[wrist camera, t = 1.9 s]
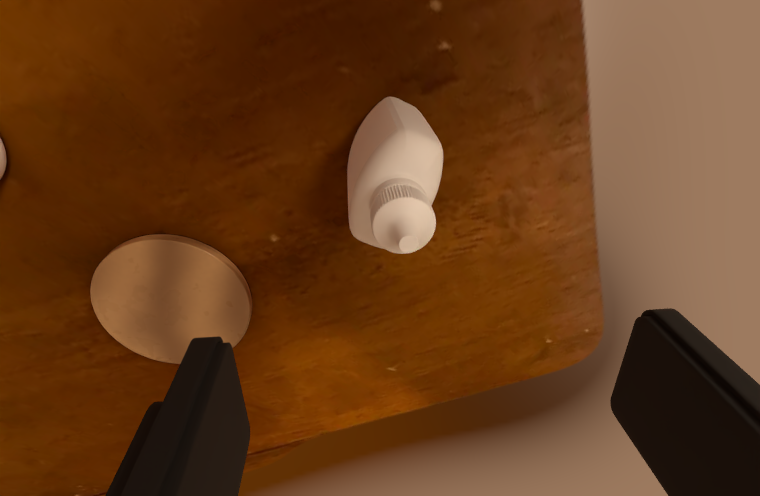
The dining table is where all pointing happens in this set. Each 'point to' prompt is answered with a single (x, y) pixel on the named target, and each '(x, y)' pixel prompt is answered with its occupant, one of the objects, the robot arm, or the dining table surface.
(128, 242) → the cork trivet
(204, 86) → the dining table surface
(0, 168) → the drinking glass
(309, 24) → the dining table surface
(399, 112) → the eye dropper bottle
